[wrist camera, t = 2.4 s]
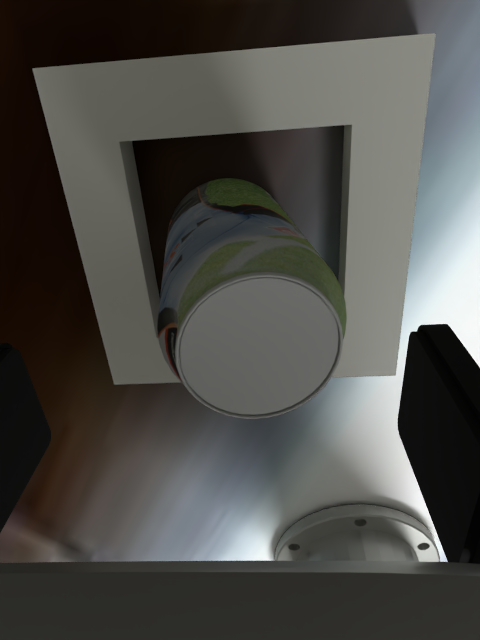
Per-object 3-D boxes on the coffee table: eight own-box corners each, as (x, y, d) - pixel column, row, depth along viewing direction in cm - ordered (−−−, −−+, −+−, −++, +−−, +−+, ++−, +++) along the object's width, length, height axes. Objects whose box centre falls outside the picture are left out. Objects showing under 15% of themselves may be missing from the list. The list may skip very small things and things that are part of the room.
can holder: (386, 355, 26) (395, 375, 24) (123, 365, 27) (114, 384, 26) (419, 37, 19) (435, 33, 17) (52, 69, 20) (32, 68, 18)
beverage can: (156, 191, 22) (60, 293, 12) (300, 151, 21) (339, 223, 10) (195, 300, 25) (147, 461, 14) (324, 270, 24) (373, 422, 13)
